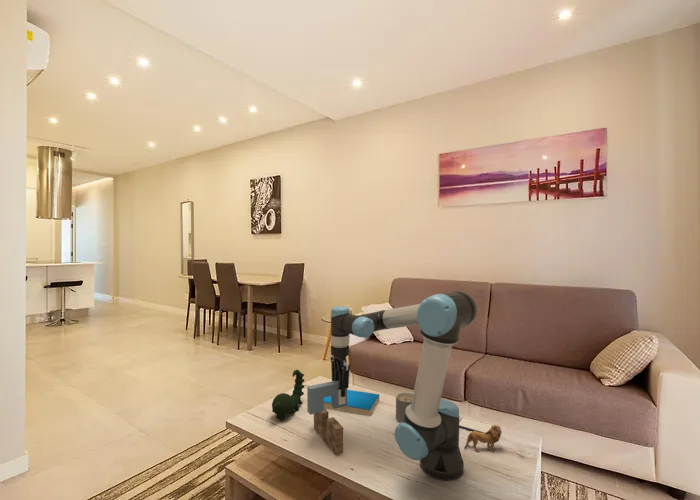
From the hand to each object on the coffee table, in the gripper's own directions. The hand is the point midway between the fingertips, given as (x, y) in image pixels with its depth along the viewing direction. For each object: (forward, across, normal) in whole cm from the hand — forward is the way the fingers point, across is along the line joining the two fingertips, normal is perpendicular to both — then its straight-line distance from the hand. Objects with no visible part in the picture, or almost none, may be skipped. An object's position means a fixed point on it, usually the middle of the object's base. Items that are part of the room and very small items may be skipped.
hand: (339, 401), depth 145 cm
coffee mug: (+14, 0, -34) cm, 37 cm away
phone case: (+15, -22, -55) cm, 61 cm away
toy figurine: (+15, +28, +12) cm, 34 cm away
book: (+15, +23, -17) cm, 32 cm away
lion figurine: (+14, -33, -46) cm, 58 cm away
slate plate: (+2, 0, +6) cm, 6 cm away
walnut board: (+14, 0, +6) cm, 15 cm away
